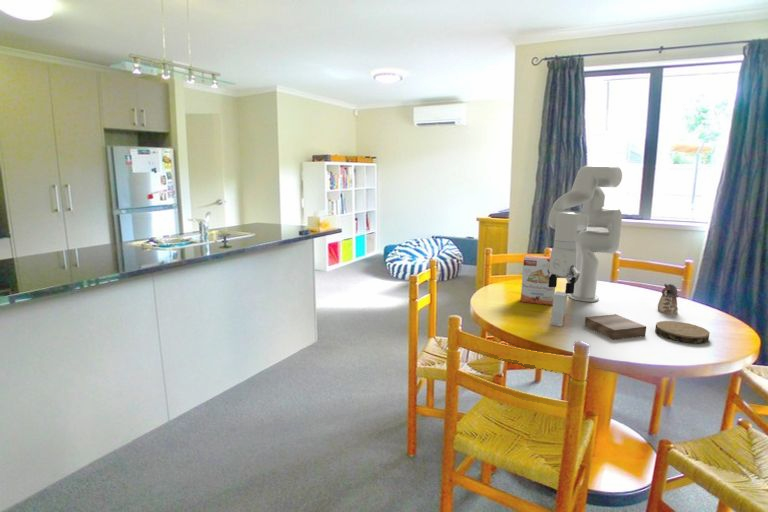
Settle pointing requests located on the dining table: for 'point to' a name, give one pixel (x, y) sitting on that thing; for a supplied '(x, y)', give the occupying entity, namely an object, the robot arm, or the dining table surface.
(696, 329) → the wood slice coaster
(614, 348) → the dining table surface
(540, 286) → the cracker box
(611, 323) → the walnut base
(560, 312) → the skincare box
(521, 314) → the dining table surface
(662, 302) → the figurine
